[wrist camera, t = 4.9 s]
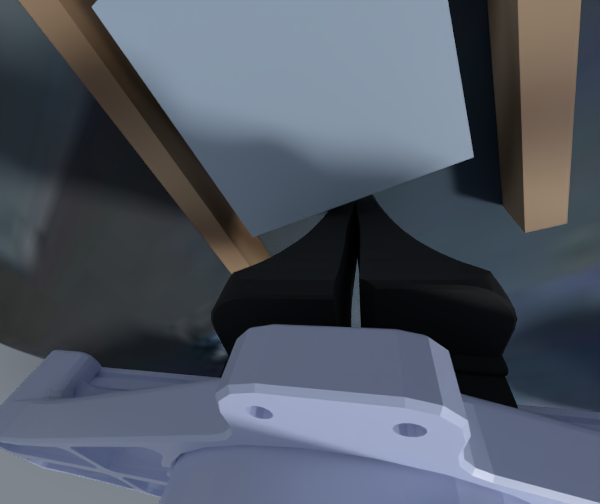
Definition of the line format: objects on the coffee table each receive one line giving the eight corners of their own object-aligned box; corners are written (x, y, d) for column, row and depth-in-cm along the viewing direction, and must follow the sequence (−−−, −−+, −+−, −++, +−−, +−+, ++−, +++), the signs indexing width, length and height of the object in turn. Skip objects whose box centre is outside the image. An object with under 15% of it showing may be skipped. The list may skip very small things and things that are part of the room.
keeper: (439, 119, 10) (473, 157, 7) (278, 188, 13) (252, 237, 10) (378, -162, 7) (394, -326, 4) (178, 15, 10) (91, 6, 6)
